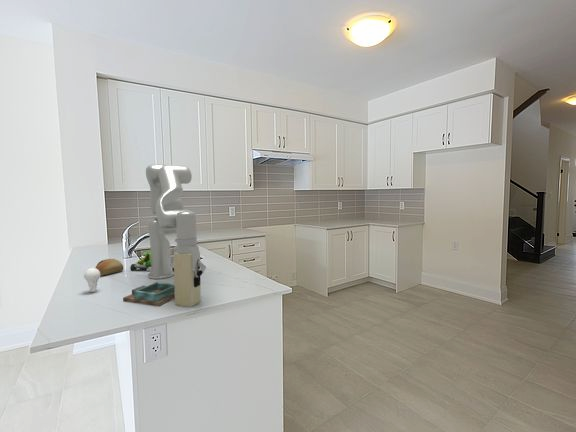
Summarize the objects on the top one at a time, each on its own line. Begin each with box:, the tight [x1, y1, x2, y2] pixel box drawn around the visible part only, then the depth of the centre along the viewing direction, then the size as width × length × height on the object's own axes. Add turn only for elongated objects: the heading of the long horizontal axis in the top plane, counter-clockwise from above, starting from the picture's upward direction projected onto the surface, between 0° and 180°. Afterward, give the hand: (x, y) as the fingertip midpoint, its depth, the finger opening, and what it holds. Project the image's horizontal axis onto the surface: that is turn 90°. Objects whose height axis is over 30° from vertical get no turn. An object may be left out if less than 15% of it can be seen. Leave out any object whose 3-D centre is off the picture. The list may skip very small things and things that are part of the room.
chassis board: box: [122, 281, 175, 307], centre depth 124 cm, size 18×14×4 cm
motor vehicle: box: [129, 247, 151, 272], centre depth 173 cm, size 12×19×11 cm, turn 177°
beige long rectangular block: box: [173, 252, 202, 308], centre depth 117 cm, size 8×7×21 cm
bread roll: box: [95, 258, 124, 277], centre depth 160 cm, size 10×15×8 cm, turn 156°
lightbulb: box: [83, 267, 101, 293], centre depth 130 cm, size 6×6×11 cm
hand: (188, 284), depth 118 cm, fingers closed on beige long rectangular block, 8 cm apart
